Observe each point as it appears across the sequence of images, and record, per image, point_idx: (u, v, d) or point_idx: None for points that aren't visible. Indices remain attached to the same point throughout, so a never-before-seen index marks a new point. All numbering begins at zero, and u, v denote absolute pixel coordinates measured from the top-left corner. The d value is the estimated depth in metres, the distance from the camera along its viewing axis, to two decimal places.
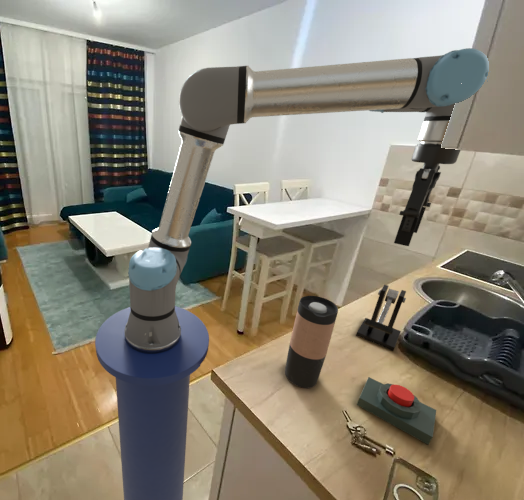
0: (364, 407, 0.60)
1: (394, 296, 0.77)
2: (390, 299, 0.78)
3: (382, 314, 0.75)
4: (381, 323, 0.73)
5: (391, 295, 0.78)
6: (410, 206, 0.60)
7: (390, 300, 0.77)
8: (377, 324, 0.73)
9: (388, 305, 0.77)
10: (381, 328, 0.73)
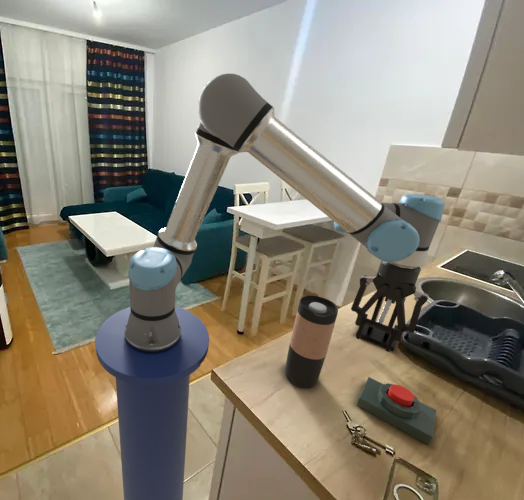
0: (364, 407, 0.60)
1: None
2: (390, 299, 0.78)
3: (382, 314, 0.75)
4: (381, 323, 0.73)
5: None
6: (415, 326, 0.68)
7: (390, 300, 0.77)
8: (377, 324, 0.73)
9: (388, 305, 0.77)
10: (381, 328, 0.73)
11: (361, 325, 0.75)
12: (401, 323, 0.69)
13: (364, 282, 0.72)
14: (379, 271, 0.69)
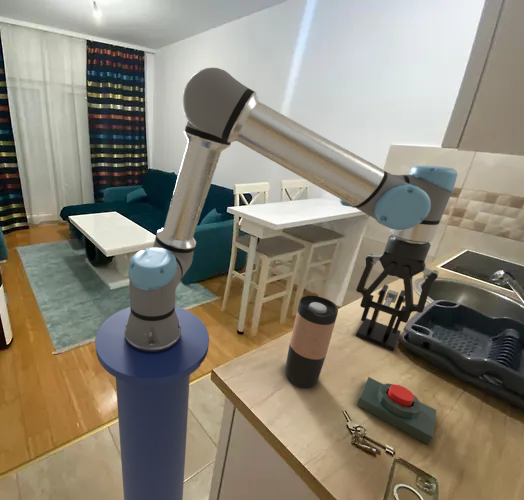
0: (364, 407, 0.60)
1: (395, 294, 0.77)
2: (391, 296, 0.77)
3: (386, 302, 0.73)
4: (387, 306, 0.71)
5: (392, 292, 0.78)
6: (424, 306, 0.65)
7: (391, 296, 0.77)
8: (383, 305, 0.71)
9: (390, 298, 0.76)
10: (388, 309, 0.70)
11: (367, 307, 0.72)
12: (409, 303, 0.66)
13: (370, 261, 0.69)
14: (386, 248, 0.66)
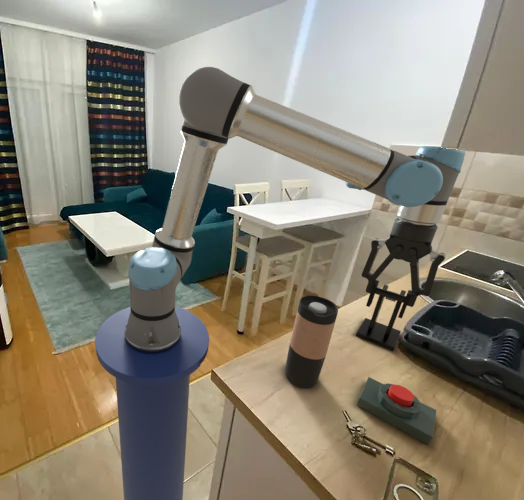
0: (364, 407, 0.60)
1: None
2: None
3: None
4: None
5: None
6: None
7: None
8: (389, 291, 0.70)
9: None
10: (393, 294, 0.69)
11: (372, 292, 0.72)
12: (416, 287, 0.65)
13: (376, 245, 0.69)
14: (392, 231, 0.65)
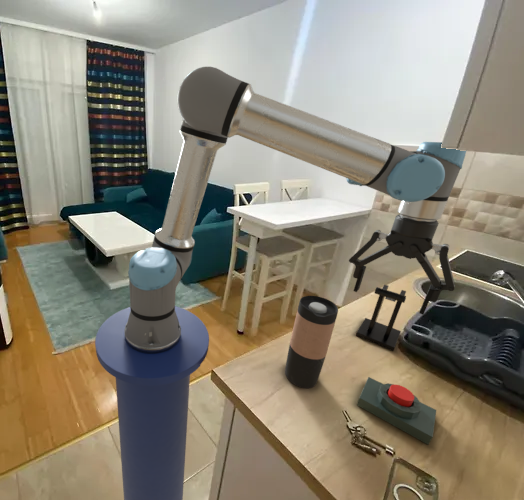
0: (364, 407, 0.60)
1: None
2: None
3: None
4: None
5: None
6: (453, 282, 0.61)
7: None
8: (389, 291, 0.70)
9: None
10: (394, 294, 0.69)
11: (359, 277, 0.73)
12: (436, 281, 0.63)
13: (376, 237, 0.68)
14: (393, 228, 0.65)
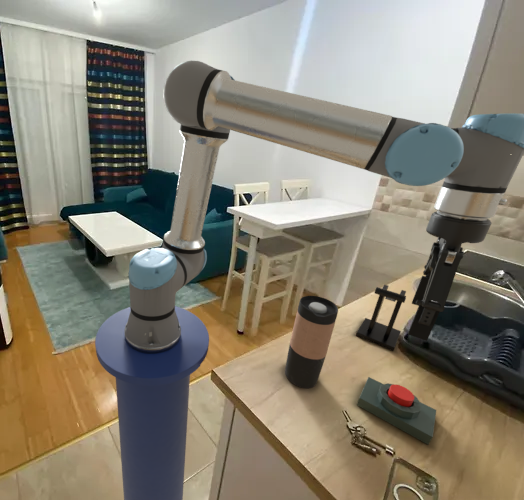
0: (364, 407, 0.60)
1: None
2: None
3: None
4: None
5: None
6: (432, 298, 0.47)
7: None
8: (389, 291, 0.70)
9: None
10: (394, 294, 0.69)
11: (418, 285, 0.61)
12: (425, 293, 0.49)
13: (438, 238, 0.56)
14: None
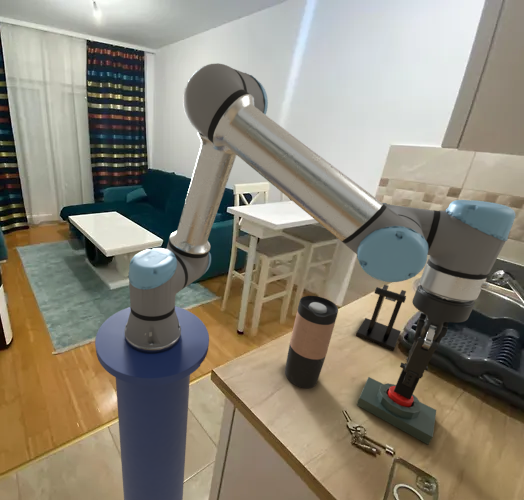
0: (364, 407, 0.60)
1: None
2: None
3: None
4: None
5: None
6: (411, 369, 0.53)
7: None
8: (389, 291, 0.70)
9: None
10: (394, 294, 0.69)
11: (401, 372, 0.58)
12: (407, 360, 0.55)
13: None
14: None
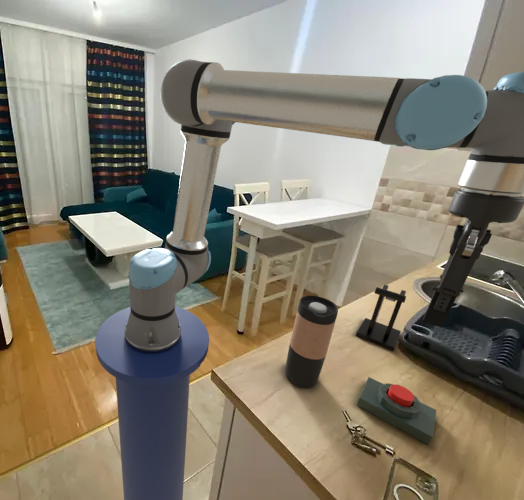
0: (364, 407, 0.60)
1: None
2: None
3: None
4: None
5: None
6: (446, 287, 0.46)
7: None
8: (389, 291, 0.70)
9: None
10: (394, 294, 0.69)
11: None
12: (441, 280, 0.48)
13: None
14: None
